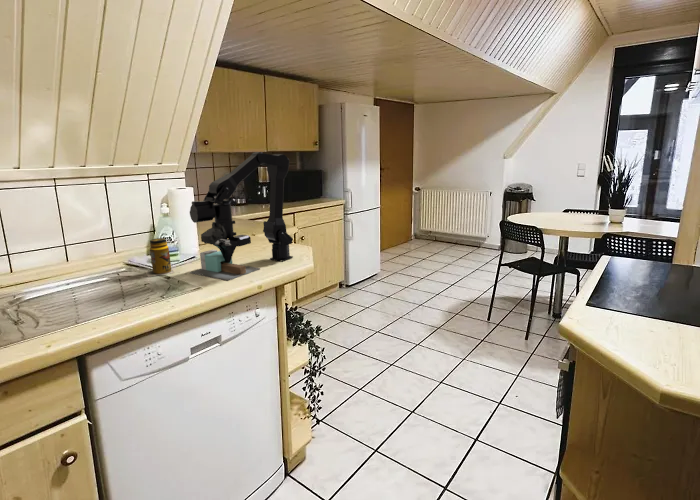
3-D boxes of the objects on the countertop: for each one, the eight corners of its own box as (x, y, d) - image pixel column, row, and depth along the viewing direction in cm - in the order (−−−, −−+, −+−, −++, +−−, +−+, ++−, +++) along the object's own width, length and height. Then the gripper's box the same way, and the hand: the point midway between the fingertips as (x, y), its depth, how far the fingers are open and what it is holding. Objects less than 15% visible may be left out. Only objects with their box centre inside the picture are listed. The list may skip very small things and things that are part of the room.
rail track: (223, 262, 153) (221, 246, 152) (260, 269, 144) (258, 252, 142) (189, 273, 141) (187, 255, 140) (227, 280, 131) (225, 262, 130)
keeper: (221, 265, 148) (219, 251, 147) (232, 267, 145) (231, 252, 144) (206, 270, 142) (204, 255, 141) (217, 272, 139) (216, 257, 138)
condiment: (174, 272, 142) (170, 239, 139) (148, 277, 138) (143, 243, 135) (170, 268, 148) (166, 236, 145) (145, 272, 143) (140, 239, 141)
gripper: (185, 220, 135) (191, 265, 139) (224, 224, 126) (229, 272, 129) (211, 215, 144) (216, 257, 148) (250, 218, 135) (253, 263, 139)
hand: (227, 262), depth 141 cm, fingers closed
